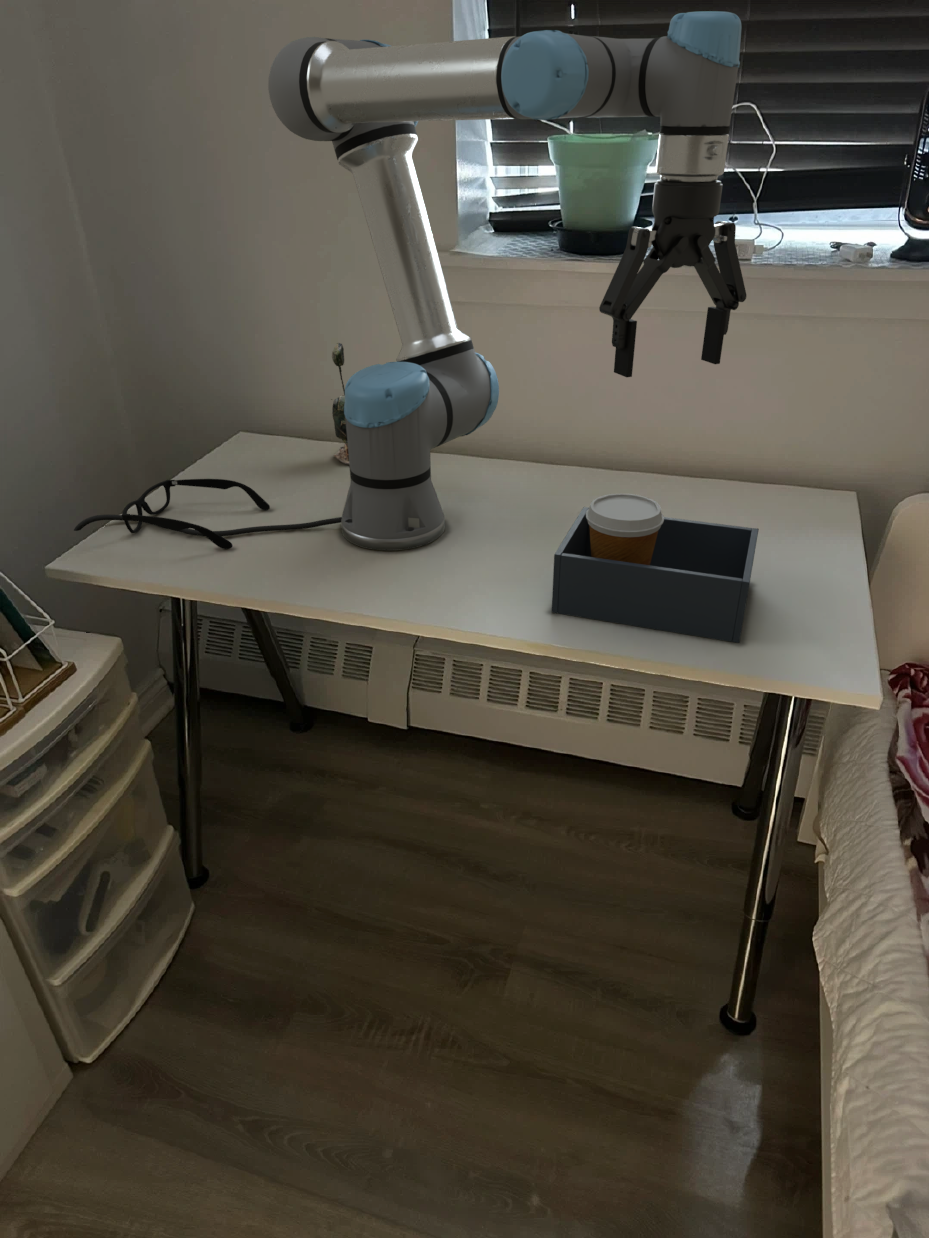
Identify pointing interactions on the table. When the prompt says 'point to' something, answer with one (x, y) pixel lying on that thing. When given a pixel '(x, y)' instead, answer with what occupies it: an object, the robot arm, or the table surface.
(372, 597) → the table surface
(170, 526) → the glasses
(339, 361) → the plant with pod
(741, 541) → the bin
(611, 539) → the disposable coffee cup
